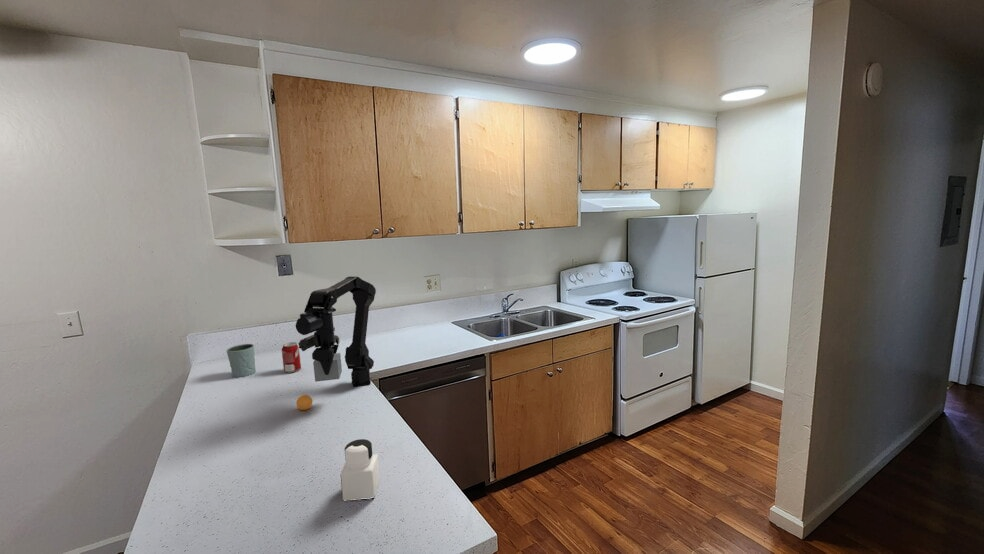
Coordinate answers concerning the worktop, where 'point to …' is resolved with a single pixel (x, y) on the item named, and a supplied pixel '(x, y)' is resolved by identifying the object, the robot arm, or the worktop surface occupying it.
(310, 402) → the ball
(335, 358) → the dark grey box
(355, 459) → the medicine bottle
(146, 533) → the worktop surface
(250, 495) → the worktop surface
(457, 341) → the worktop surface
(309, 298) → the robot arm
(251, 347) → the green plant pot
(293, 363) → the soda can
